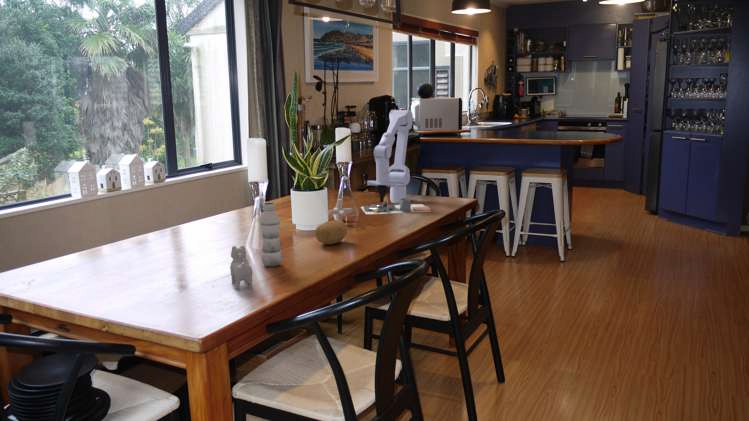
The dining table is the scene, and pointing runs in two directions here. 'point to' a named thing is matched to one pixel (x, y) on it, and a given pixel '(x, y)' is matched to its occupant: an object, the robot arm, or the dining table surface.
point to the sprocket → (381, 207)
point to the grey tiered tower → (270, 236)
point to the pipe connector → (339, 210)
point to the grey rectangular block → (405, 205)
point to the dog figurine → (240, 267)
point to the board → (413, 209)
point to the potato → (331, 232)
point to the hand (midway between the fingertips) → (382, 201)
